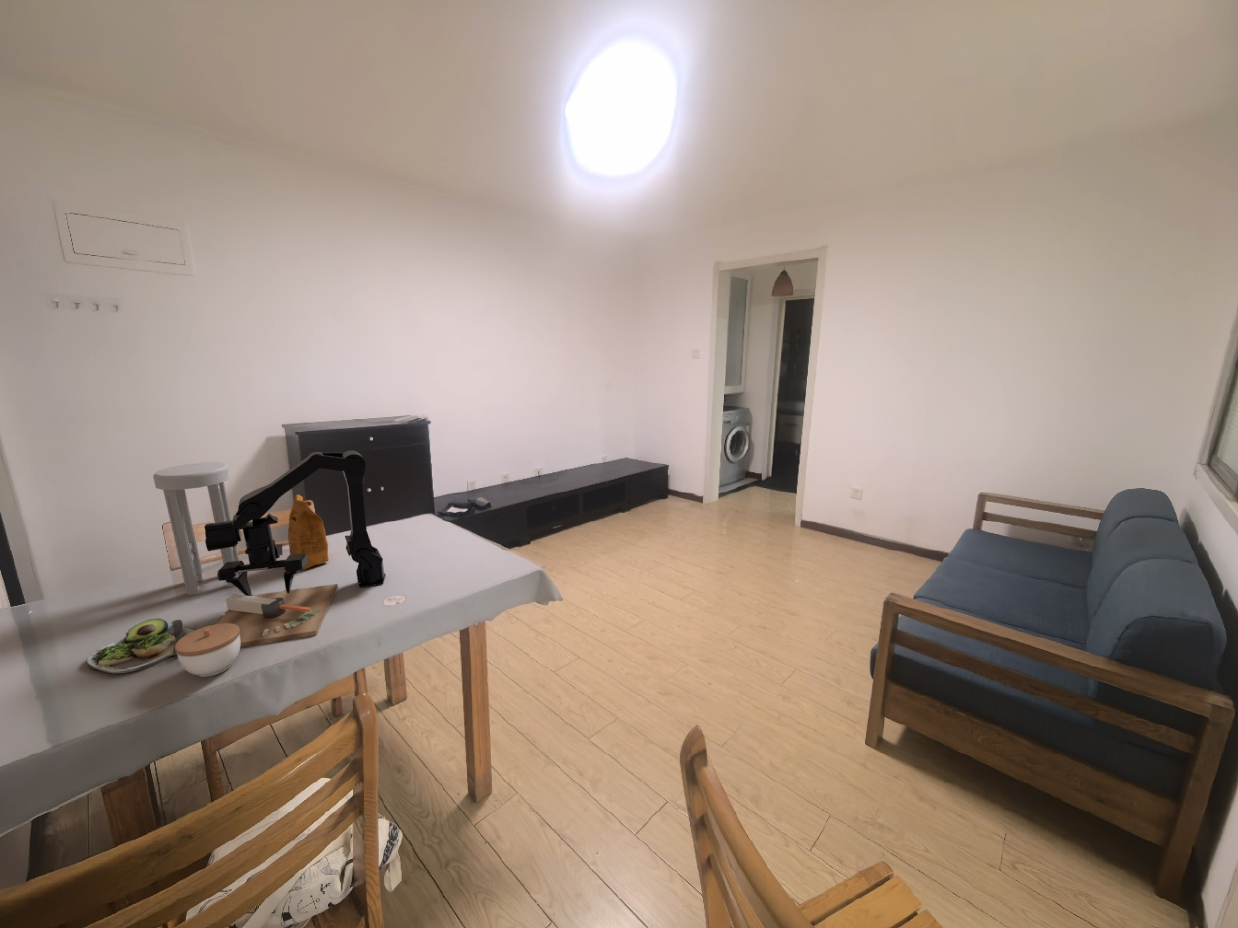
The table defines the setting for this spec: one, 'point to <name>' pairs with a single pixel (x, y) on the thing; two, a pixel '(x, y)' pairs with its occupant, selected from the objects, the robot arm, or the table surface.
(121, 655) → the salad plate
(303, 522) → the coffee package
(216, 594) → the table surface
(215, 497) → the stool
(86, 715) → the table surface
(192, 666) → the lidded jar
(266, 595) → the cutting board
